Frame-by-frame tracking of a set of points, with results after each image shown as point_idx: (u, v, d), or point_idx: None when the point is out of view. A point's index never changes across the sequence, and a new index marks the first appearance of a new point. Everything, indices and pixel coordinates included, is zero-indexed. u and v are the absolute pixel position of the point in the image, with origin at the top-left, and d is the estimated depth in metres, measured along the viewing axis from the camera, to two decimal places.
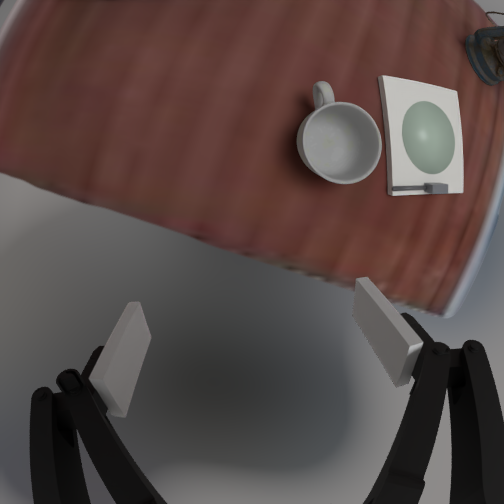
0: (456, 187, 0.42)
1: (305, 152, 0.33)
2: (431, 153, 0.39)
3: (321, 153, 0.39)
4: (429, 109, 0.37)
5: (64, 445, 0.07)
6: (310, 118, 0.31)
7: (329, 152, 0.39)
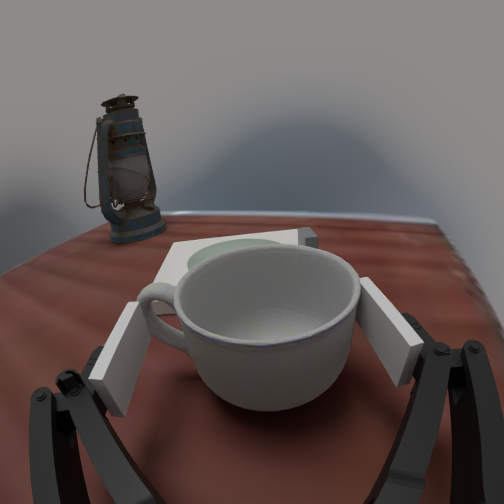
0: (296, 233, 0.42)
1: (261, 342, 0.11)
2: None
3: None
4: (198, 259, 0.36)
5: (64, 445, 0.07)
6: (183, 316, 0.14)
7: None
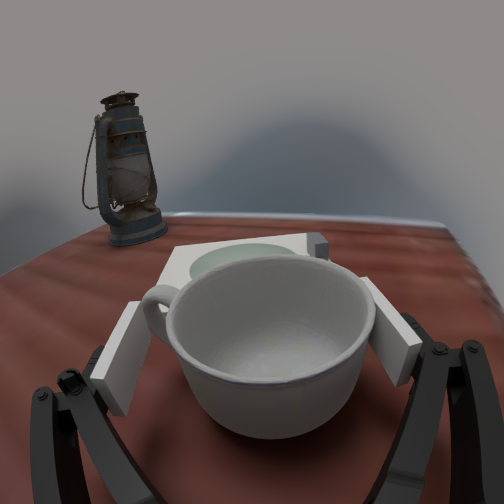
0: (304, 237, 0.40)
1: (230, 377, 0.10)
2: None
3: None
4: (201, 266, 0.34)
5: (65, 445, 0.07)
6: (169, 329, 0.13)
7: None
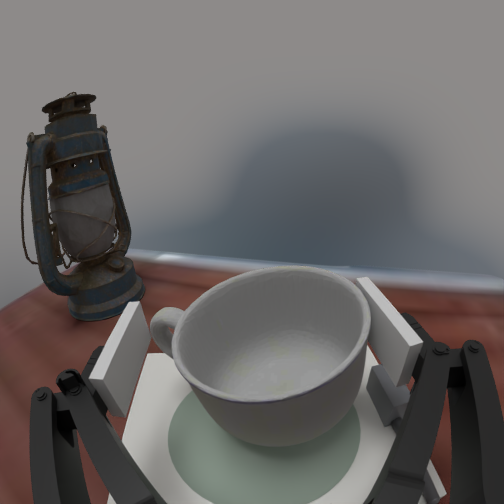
0: None
1: (231, 397, 0.10)
2: None
3: None
4: (188, 428, 0.16)
5: (64, 445, 0.07)
6: (175, 353, 0.13)
7: None
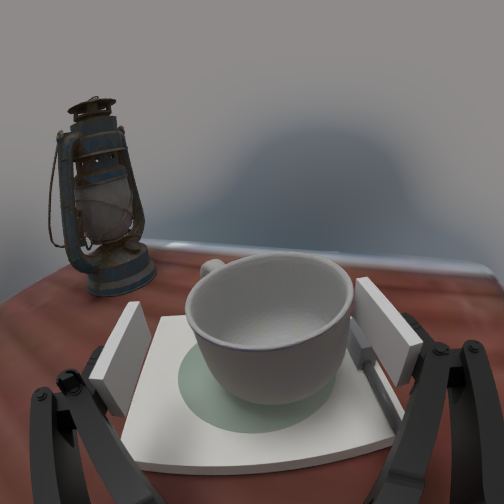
0: None
1: (196, 329, 0.15)
2: None
3: None
4: (195, 368, 0.22)
5: (64, 445, 0.07)
6: (193, 290, 0.19)
7: None
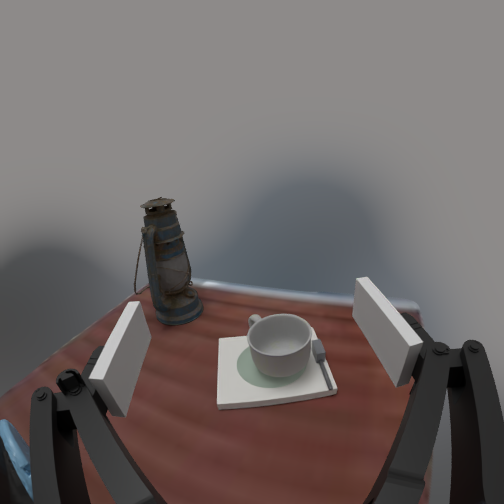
0: None
1: (253, 348, 0.43)
2: None
3: None
4: (244, 363, 0.50)
5: (64, 445, 0.07)
6: (249, 331, 0.47)
7: None
